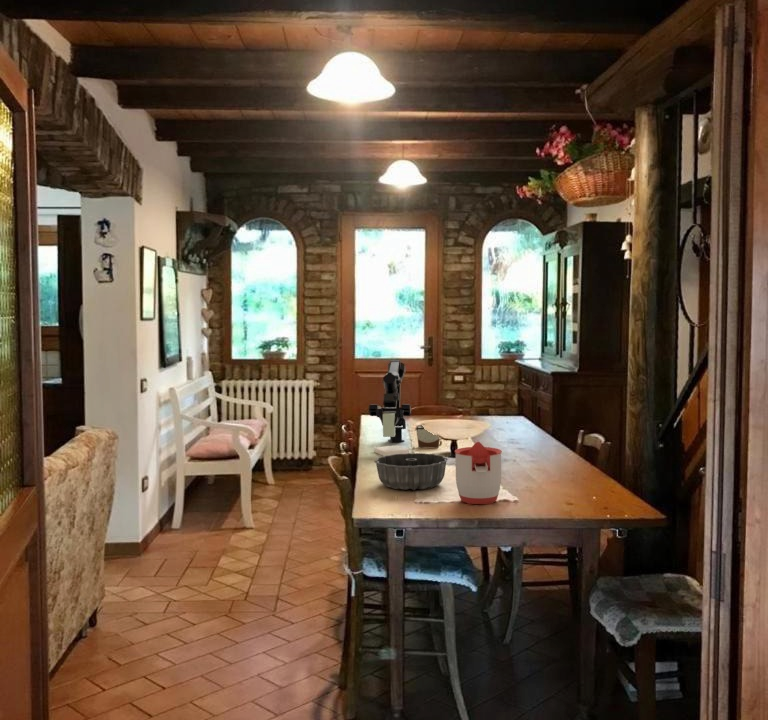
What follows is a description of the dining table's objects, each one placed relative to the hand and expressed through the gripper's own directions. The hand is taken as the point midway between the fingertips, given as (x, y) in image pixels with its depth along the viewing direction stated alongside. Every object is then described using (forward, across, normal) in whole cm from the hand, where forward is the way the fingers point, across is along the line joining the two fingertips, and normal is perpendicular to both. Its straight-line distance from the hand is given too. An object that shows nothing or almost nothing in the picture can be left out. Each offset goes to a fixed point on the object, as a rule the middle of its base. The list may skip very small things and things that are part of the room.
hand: (388, 425), depth 348 cm
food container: (-4, +17, +23) cm, 28 cm away
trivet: (+8, +1, +11) cm, 13 cm away
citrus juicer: (+69, +39, -52) cm, 95 cm away
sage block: (+3, 0, +4) cm, 5 cm away
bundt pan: (+53, +15, -35) cm, 65 cm away
